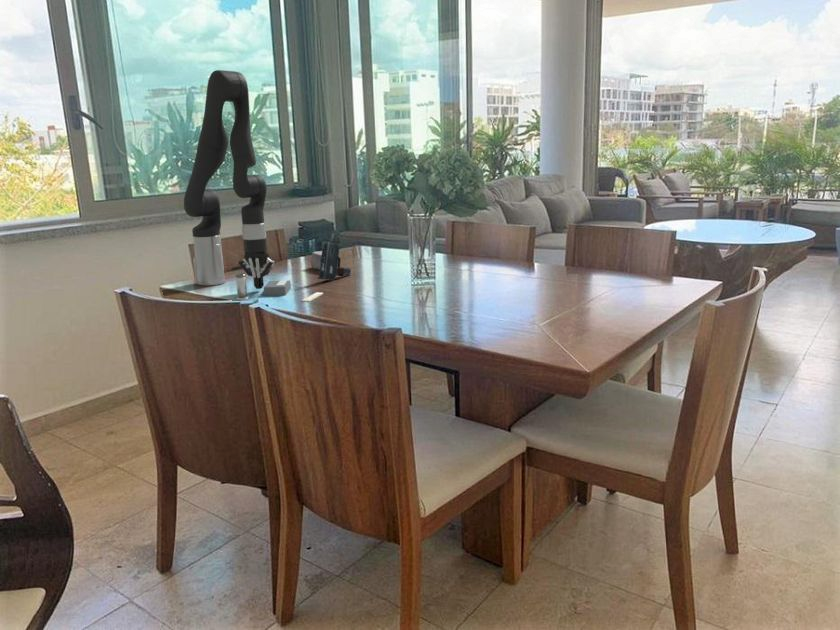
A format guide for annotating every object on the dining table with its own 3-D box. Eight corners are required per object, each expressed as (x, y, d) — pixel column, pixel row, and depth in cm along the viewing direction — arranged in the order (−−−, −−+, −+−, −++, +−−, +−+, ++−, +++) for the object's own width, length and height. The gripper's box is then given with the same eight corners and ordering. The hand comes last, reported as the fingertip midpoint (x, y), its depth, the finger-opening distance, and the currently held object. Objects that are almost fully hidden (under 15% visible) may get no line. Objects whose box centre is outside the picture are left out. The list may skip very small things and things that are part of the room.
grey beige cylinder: (234, 300, 207) (231, 275, 205) (240, 297, 210) (238, 273, 208) (245, 300, 206) (242, 275, 204) (251, 297, 209) (249, 273, 207)
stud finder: (264, 296, 212) (263, 286, 211) (270, 290, 221) (269, 280, 221) (285, 296, 212) (285, 285, 211) (291, 289, 222) (290, 279, 221)
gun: (355, 237, 239) (328, 231, 227) (350, 282, 240) (322, 279, 228) (350, 236, 241) (322, 231, 228) (344, 281, 242) (317, 278, 229)
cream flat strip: (302, 301, 203) (302, 300, 203) (316, 293, 213) (316, 292, 213) (309, 301, 202) (309, 300, 202) (323, 293, 212) (323, 292, 212)
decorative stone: (323, 266, 263) (304, 269, 255) (323, 249, 261) (303, 251, 254) (348, 270, 253) (329, 273, 246) (348, 252, 252) (329, 255, 244)
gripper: (230, 238, 212) (235, 290, 216) (267, 239, 208) (271, 291, 213) (242, 235, 219) (247, 285, 223) (278, 235, 215) (282, 286, 220)
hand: (259, 288), depth 218 cm, fingers closed
